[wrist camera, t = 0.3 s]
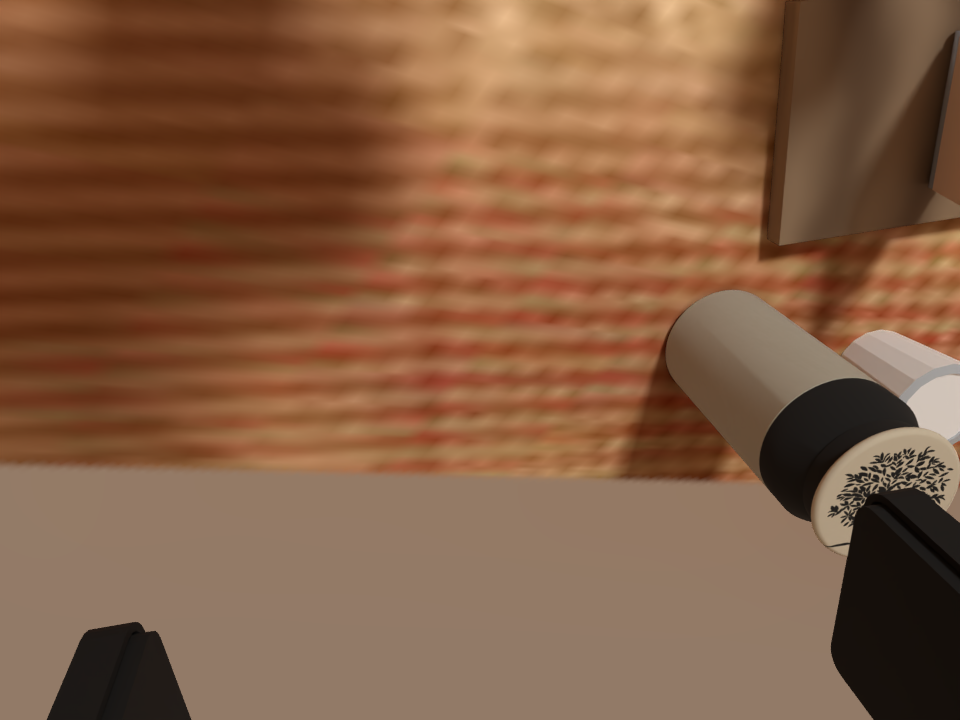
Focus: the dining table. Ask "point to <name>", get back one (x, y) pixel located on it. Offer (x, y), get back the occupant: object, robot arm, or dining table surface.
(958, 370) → the white cup
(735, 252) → the dining table surface
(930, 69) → the board
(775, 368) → the travel mug
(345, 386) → the dining table surface
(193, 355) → the dining table surface
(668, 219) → the dining table surface
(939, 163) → the tile
